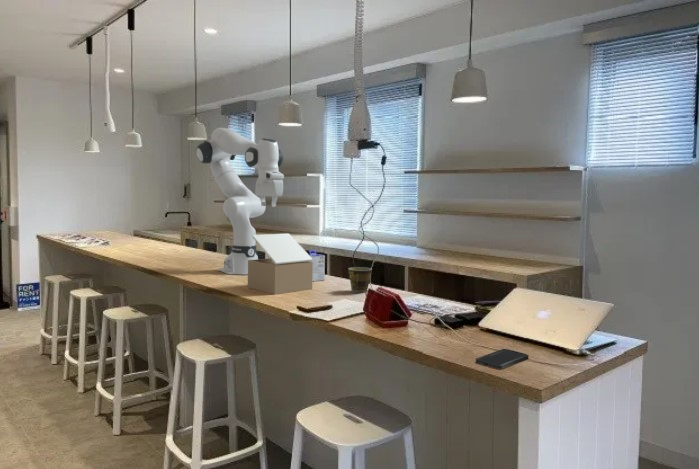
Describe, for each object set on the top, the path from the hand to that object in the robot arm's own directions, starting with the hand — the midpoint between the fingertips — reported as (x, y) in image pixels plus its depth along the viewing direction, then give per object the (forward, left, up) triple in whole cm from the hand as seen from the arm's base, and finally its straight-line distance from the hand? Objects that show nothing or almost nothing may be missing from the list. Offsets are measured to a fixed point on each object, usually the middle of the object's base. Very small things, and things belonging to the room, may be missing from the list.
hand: (268, 206), depth 243 cm
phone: (+127, -15, -36) cm, 133 cm away
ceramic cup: (+37, +20, -36) cm, 56 cm away
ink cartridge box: (+3, +24, -36) cm, 43 cm away
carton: (+10, -1, -35) cm, 37 cm away
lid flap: (+12, -1, -18) cm, 21 cm away
